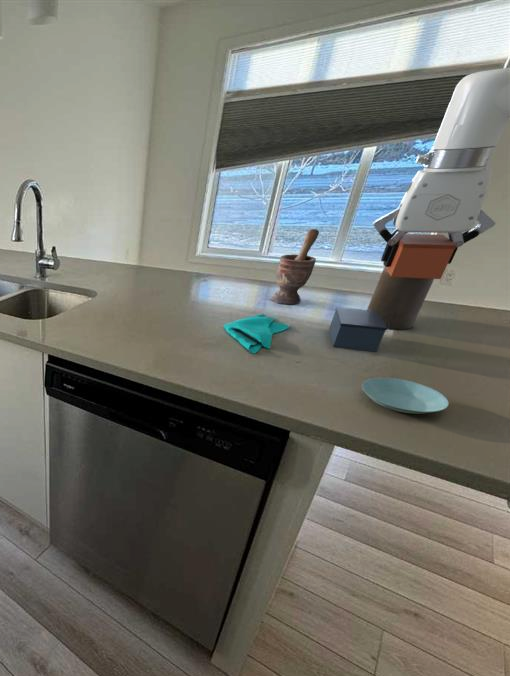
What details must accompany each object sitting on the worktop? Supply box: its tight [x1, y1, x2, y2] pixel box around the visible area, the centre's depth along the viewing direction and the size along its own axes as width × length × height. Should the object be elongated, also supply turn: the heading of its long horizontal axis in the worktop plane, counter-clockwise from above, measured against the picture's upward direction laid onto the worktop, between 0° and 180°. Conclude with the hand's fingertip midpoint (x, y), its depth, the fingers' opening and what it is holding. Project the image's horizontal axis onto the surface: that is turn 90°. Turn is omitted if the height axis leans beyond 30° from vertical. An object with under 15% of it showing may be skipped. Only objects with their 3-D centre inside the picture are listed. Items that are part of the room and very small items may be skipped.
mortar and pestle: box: [271, 228, 320, 305], centre depth 120 cm, size 12×9×20 cm
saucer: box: [361, 377, 450, 415], centre depth 75 cm, size 12×12×2 cm
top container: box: [382, 233, 457, 280], centre depth 76 cm, size 7×9×6 cm
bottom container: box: [328, 307, 388, 353], centre depth 97 cm, size 8×11×6 cm
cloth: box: [223, 313, 291, 355], centre depth 106 cm, size 26×14×2 cm, turn 132°
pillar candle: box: [366, 267, 435, 331], centre depth 101 cm, size 10×10×15 cm
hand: (412, 265), depth 77 cm, fingers closed on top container, 6 cm apart
